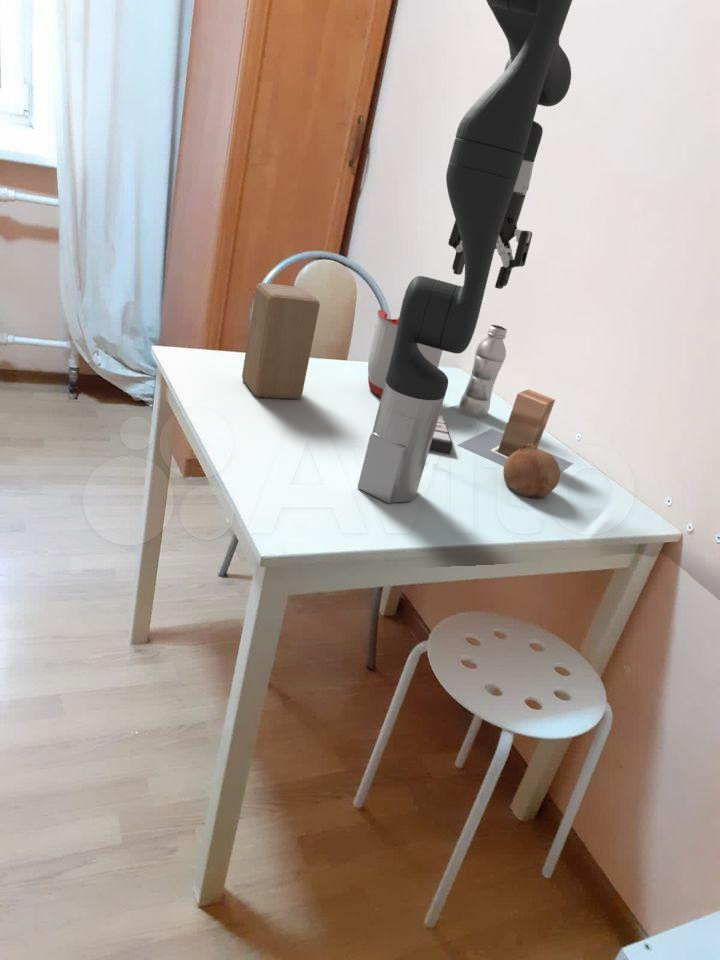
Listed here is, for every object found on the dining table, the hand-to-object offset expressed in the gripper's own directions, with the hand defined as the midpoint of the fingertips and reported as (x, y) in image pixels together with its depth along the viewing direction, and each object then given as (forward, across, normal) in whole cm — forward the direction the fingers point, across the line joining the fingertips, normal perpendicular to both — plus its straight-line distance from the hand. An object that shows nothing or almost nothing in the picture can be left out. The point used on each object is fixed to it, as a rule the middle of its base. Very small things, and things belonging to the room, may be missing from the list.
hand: (477, 281), depth 129 cm
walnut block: (+29, +16, +4) cm, 33 cm away
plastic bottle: (+30, 0, +17) cm, 35 cm away
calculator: (+31, 0, -6) cm, 31 cm away
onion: (+30, +24, -9) cm, 40 cm away
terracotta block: (+23, +16, +4) cm, 28 cm away
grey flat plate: (+30, +16, +4) cm, 34 cm away
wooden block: (+30, -30, -15) cm, 45 cm away
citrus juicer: (+30, -17, +11) cm, 36 cm away
